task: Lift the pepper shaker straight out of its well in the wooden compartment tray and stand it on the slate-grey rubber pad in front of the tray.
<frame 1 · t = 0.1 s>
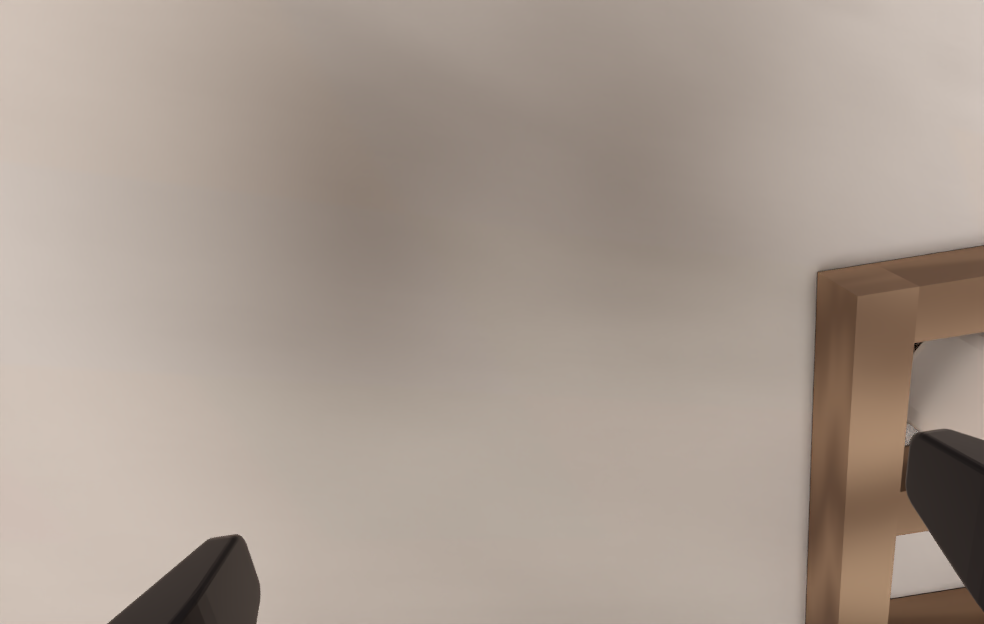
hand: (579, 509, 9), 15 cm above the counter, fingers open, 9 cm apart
pepper shaker: (939, 372, 26), resting in wooden compartment tray
wooden compartment tray: (933, 462, 27), on the counter
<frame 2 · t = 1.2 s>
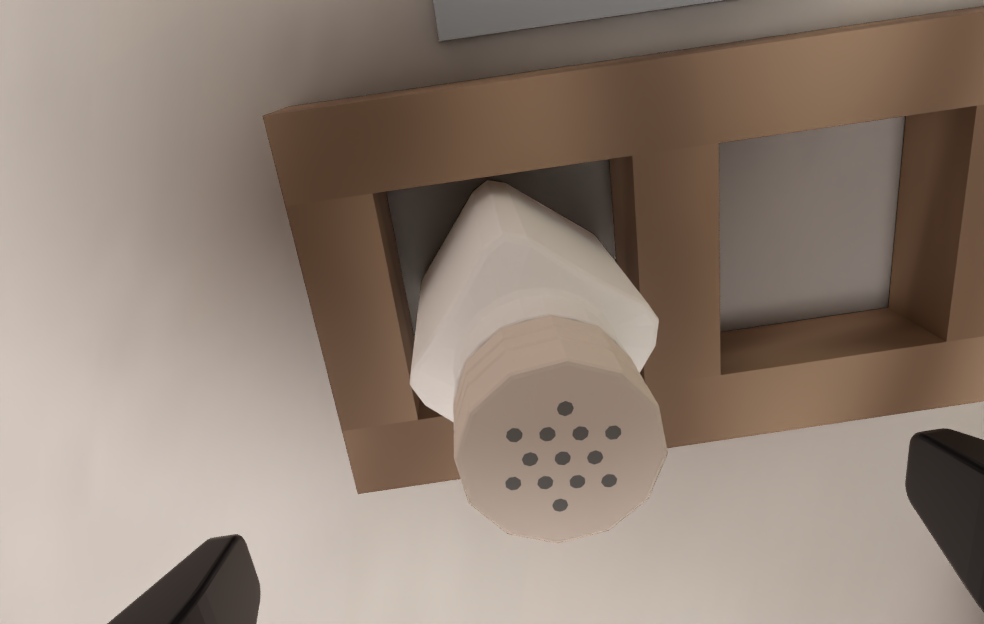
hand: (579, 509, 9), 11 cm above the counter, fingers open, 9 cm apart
pepper shaker: (508, 263, 19), resting in wooden compartment tray
wooden compartment tray: (650, 245, 19), on the counter
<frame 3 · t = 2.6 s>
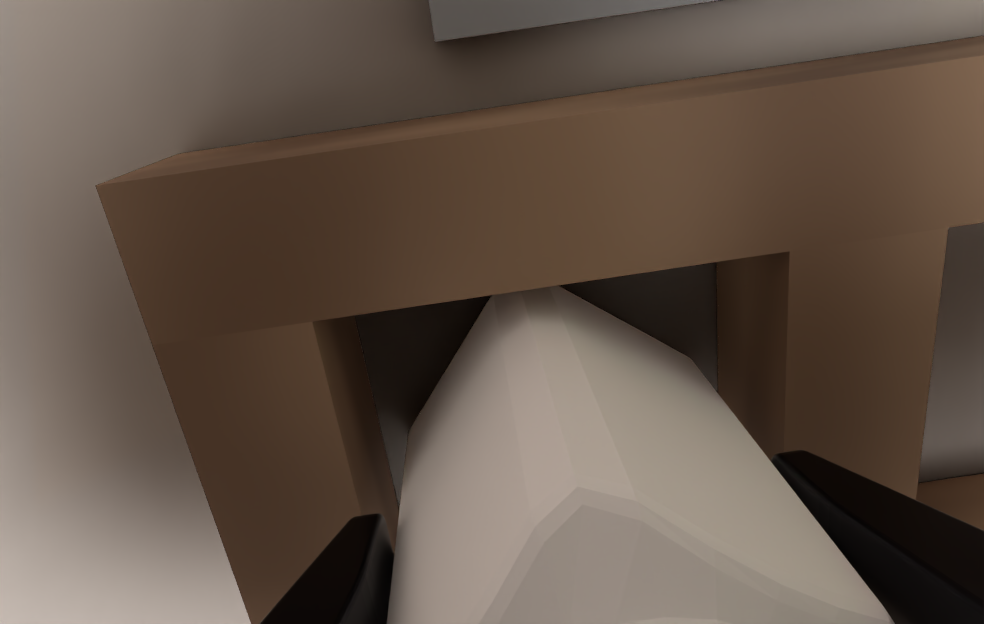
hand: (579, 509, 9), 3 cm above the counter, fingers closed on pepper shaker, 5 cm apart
pepper shaker: (547, 394, 12), resting in wooden compartment tray, touching gripper
wooden compartment tray: (774, 366, 12), on the counter
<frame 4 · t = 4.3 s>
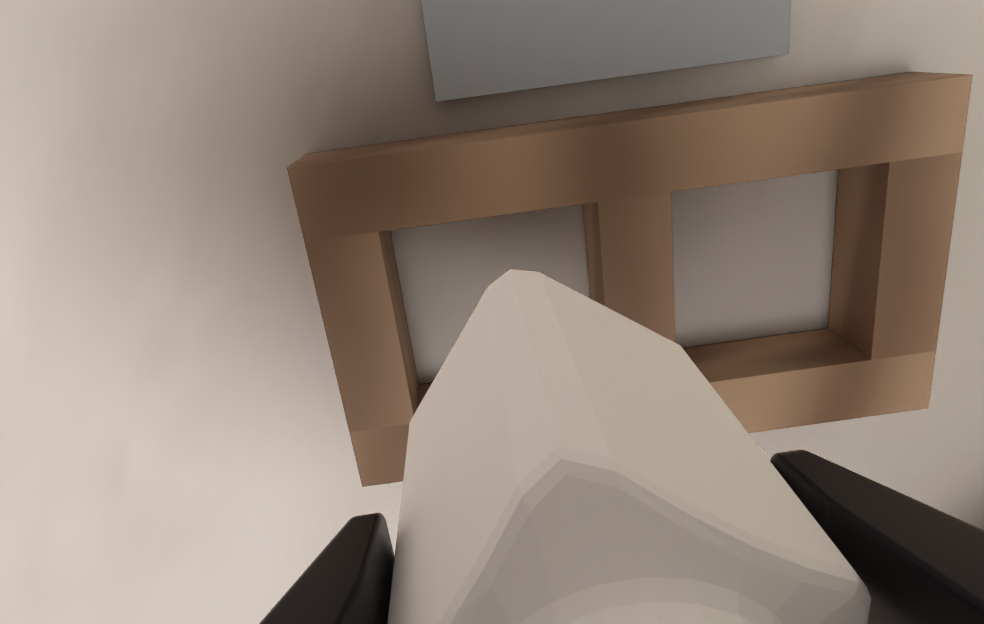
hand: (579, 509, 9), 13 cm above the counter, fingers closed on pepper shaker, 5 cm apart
pepper shaker: (543, 383, 12), point 9 cm above the counter, touching gripper
wooden compartment tray: (619, 272, 22), on the counter
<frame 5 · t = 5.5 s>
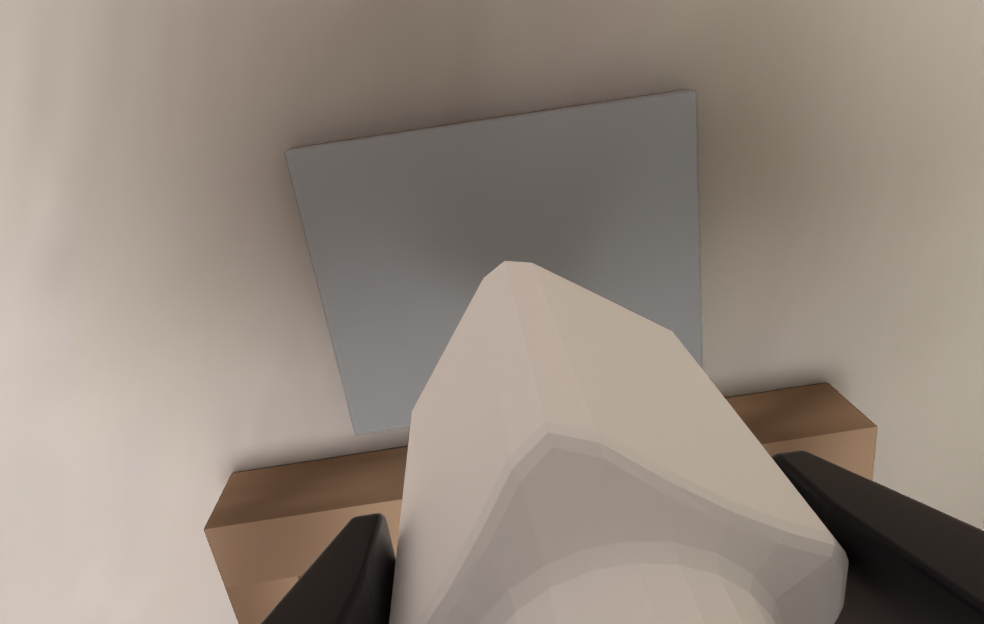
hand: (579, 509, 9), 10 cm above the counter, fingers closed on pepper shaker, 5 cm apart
pepper shaker: (541, 371, 13), point 6 cm above the counter, touching gripper
wooden compartment tray: (548, 558, 22), on the counter
rubber pad: (509, 270, 18), on the counter
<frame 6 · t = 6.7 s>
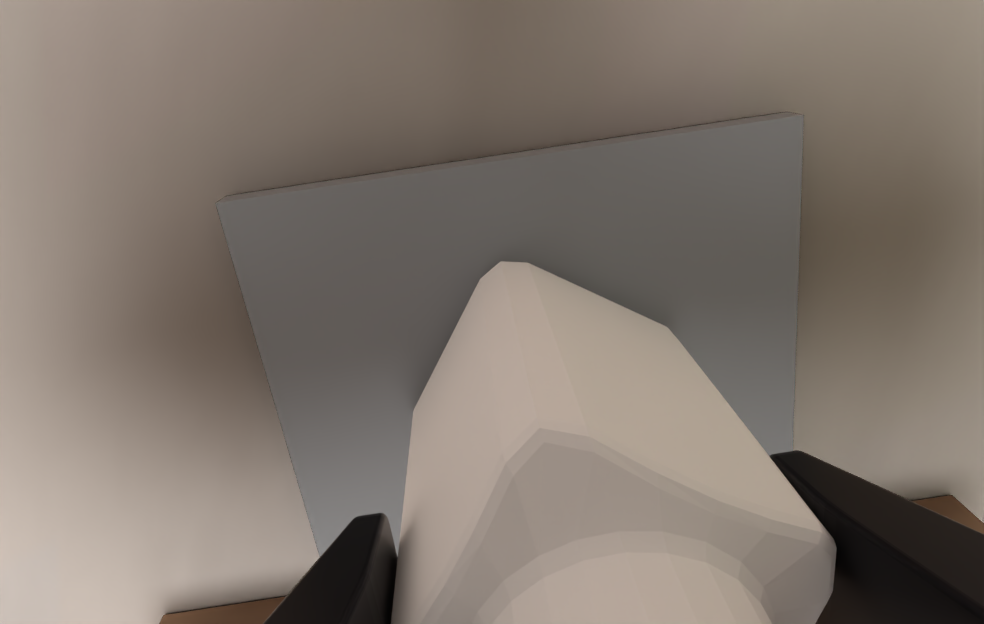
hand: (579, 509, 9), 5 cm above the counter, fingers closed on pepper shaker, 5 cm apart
pepper shaker: (540, 369, 13), resting on rubber pad, touching gripper
rubber pad: (533, 356, 13), on the counter
when the fingers open (5 cm above the counter, at t = 6.8 s): pepper shaker stays where it is, resting on rubber pad.
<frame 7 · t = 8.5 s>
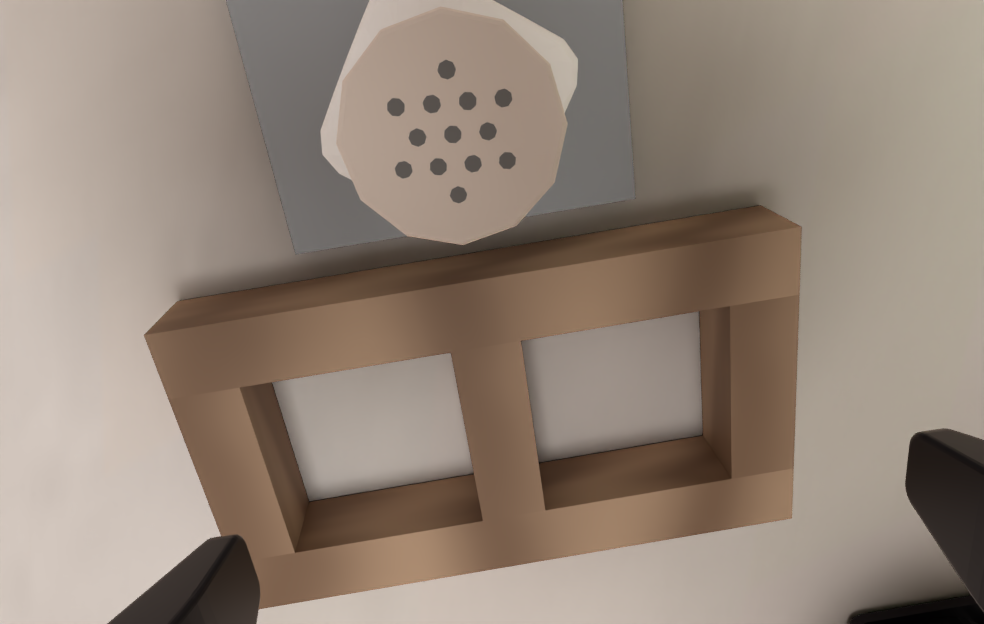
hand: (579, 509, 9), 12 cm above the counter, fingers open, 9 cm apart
pepper shaker: (445, 85, 18), resting on rubber pad
wooden compartment tray: (494, 394, 22), on the counter
rubber pad: (441, 81, 19), on the counter
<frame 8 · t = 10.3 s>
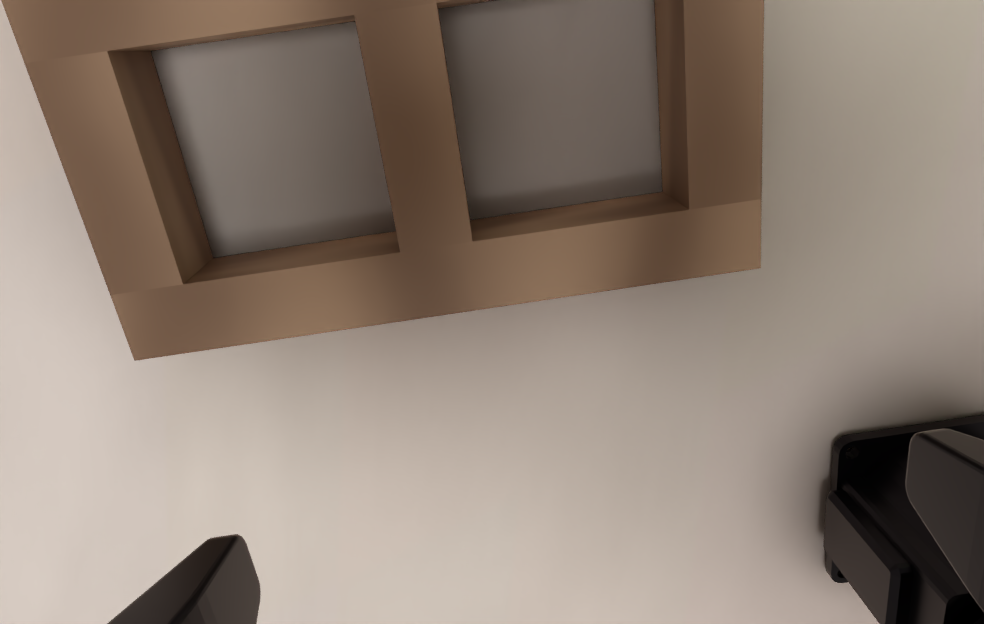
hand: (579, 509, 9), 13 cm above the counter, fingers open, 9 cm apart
wooden compartment tray: (421, 125, 20), on the counter
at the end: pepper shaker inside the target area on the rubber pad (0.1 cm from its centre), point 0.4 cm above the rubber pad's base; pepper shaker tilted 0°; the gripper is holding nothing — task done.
